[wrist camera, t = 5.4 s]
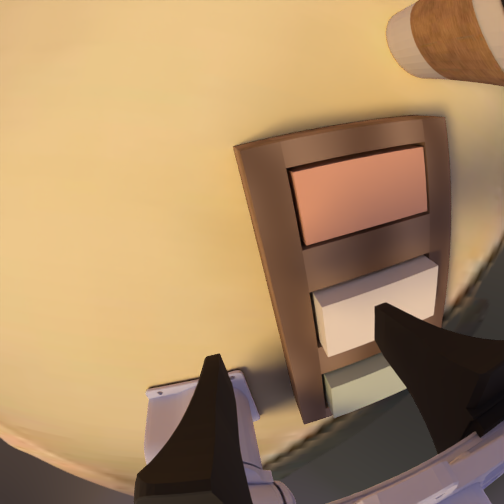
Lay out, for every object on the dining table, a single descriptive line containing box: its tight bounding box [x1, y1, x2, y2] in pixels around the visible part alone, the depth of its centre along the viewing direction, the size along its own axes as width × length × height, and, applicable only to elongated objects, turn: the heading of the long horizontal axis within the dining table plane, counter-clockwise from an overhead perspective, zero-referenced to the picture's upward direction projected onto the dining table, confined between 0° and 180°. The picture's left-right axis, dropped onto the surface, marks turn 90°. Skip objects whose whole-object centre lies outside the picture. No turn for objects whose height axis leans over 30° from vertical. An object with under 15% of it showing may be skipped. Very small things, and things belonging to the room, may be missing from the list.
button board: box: [233, 115, 451, 424], centre depth 23 cm, size 14×24×4 cm, turn 13°
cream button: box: [309, 255, 438, 357], centre depth 21 cm, size 9×4×4 cm, turn 103°
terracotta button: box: [286, 144, 427, 245], centre depth 19 cm, size 9×4×4 cm, turn 103°
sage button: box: [321, 353, 406, 418], centre depth 25 cm, size 9×4×4 cm, turn 103°
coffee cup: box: [386, 0, 504, 86], centre depth 11 cm, size 8×8×15 cm
